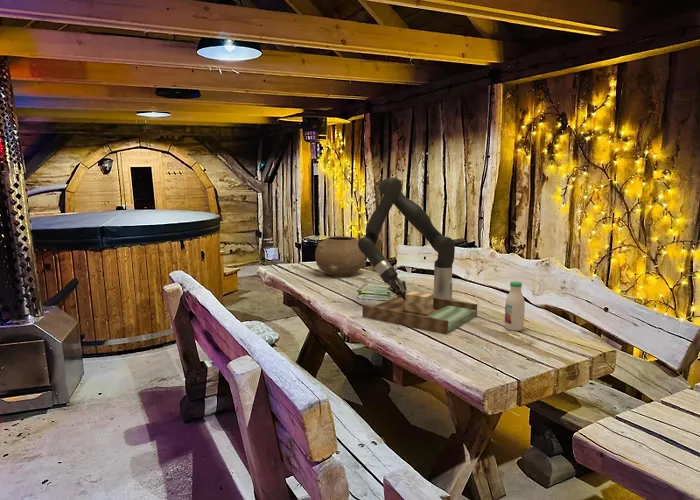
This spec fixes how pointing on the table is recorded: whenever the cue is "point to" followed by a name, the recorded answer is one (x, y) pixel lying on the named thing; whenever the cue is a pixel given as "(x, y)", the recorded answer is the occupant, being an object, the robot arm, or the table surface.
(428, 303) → the maple block
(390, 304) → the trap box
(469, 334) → the table surface
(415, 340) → the table surface
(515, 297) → the milk bottle
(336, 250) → the ceramic pot
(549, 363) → the table surface
